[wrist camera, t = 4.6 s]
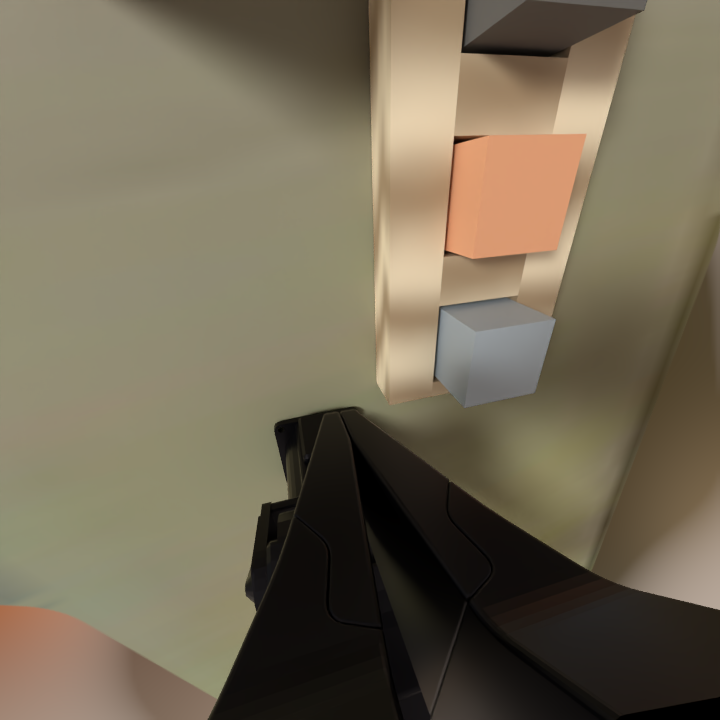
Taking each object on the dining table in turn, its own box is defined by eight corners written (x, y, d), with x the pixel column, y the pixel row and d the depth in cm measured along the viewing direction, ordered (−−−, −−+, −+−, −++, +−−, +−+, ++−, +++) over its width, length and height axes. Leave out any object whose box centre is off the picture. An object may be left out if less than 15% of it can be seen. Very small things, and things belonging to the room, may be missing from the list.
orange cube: (496, 238, 20) (556, 249, 16) (428, 244, 19) (472, 258, 15) (511, 147, 18) (586, 133, 14) (433, 149, 17) (489, 135, 13)
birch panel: (509, 357, 26) (535, 375, 24) (376, 382, 24) (389, 404, 21) (614, -114, 14) (689, -181, 12) (365, -161, 12) (391, -259, 9)
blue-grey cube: (486, 357, 24) (534, 392, 19) (427, 367, 23) (464, 408, 18) (498, 294, 21) (555, 319, 17) (432, 303, 20) (475, 332, 16)
